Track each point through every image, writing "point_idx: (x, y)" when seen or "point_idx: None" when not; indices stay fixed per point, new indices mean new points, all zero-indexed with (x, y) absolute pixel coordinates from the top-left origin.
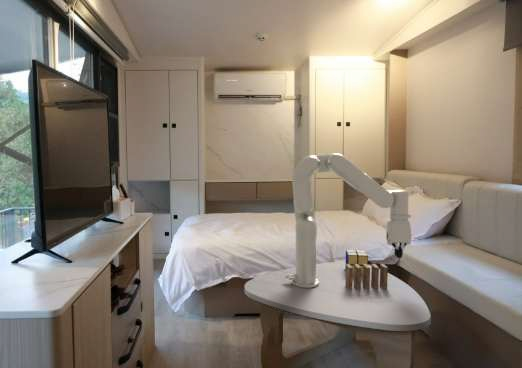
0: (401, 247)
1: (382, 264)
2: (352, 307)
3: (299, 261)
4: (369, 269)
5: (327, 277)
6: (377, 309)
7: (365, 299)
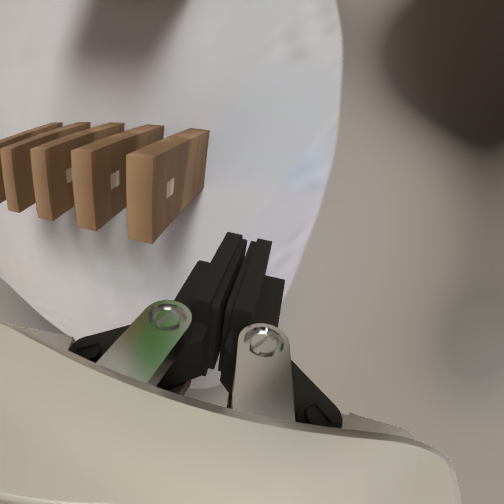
0: (229, 402)
1: (138, 171)
2: (58, 292)
3: None
4: (57, 214)
5: (24, 40)
6: (112, 321)
7: (90, 260)
